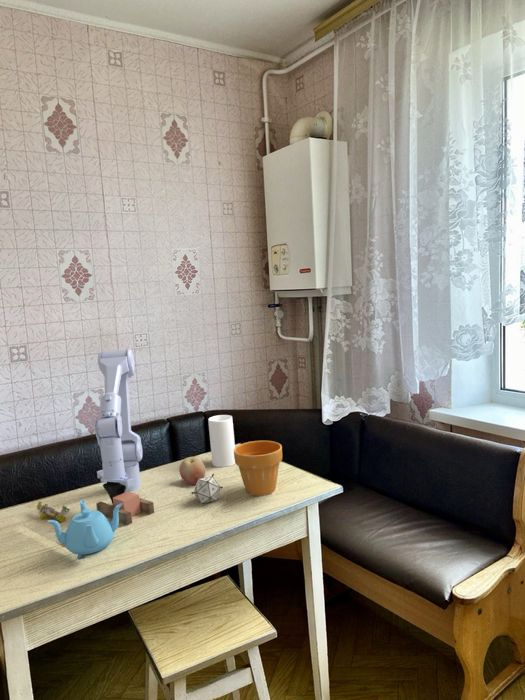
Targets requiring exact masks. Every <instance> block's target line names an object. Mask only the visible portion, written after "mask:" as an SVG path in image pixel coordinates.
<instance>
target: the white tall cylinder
mask: <svg viewBox="0 0 525 700" xmlns="http://www.w3.org/2000/svg"><path fill="white" fill-rule="evenodd" d="M207 420H208V431H209V441H210V443H209V444H210V451H211V452H210V453H211V460H212V461H211V462H212V466H214V467H217V468H227V467H230V466H233V465H236V463H235V459H234V449H235V447H236V445H235V444H236V443H235V434H234V433H235V431H234V423H233V416H232V415H229V414H218V415H213V416H211V417H209V418H208V419H207Z"/></svg>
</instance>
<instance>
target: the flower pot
mask: <svg viewBox="0 0 525 700" xmlns="http://www.w3.org/2000/svg"><path fill="white" fill-rule="evenodd" d="M234 459H235V465H237V466H238V469H239V473H240V476H241V480H242V483H243V486H244V489H245V492H246V493H247V494H248V495H250V496H257V497H259V496H267V495H269V494H272V493H275V491H276V488H277V487H276V486H277V484H278V483H277V481H278V475H279V468H280V463H281V462H282V461H283V446H282V444H281V443H279V442H276V441H272V440H254V441H248V442H247V441H246V442H243V443H240V444H238V445H237V446H235V449H234Z"/></svg>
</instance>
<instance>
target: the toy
mask: <svg viewBox="0 0 525 700" xmlns="http://www.w3.org/2000/svg"><path fill="white" fill-rule="evenodd" d="M48 505H49V504H48V503H44V504H42V501H38V503H37V505H36V509H37V510H39V513H40V516H39V518H40V519H41V520H44V519H45V520H46V519H49V518H53V519H52V520H55V521H57V522H58V523H59V524H60V523H63V522H65V521H66V517H67V516H65V513H68V512H69V511H70V510H71V509H70V508H68V507H67V506H66V505H63V506H62V507H61V510H60V512H59V511H56V509H55V508H53V507H52V506H51V507H50V506H48Z"/></svg>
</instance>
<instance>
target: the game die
mask: <svg viewBox="0 0 525 700" xmlns="http://www.w3.org/2000/svg"><path fill="white" fill-rule="evenodd" d="M214 475H215V474H214V473H212V475H211V476H206V477H205V476H204V478H200V479H198V478H197V477H196V479H197V482H196V484H195V485H194V486H195V487H194V489H193V491H192V492H191V493H190V494H192V495H193V494H194V496H195V497H196V499H197V500H198V502H199V503H200V504H202V505H203V504H207V503H211V502H212V503H213V502H216V501H218V499H219V495H220V491H221V489H223V488H224V486H220V484H219V483H218V481H217V480H216V479H215V477H214Z"/></svg>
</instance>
